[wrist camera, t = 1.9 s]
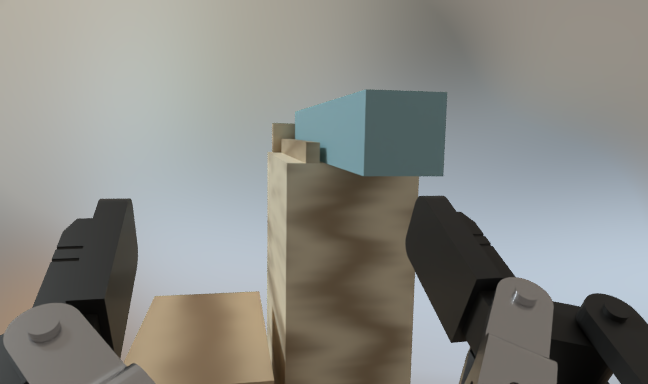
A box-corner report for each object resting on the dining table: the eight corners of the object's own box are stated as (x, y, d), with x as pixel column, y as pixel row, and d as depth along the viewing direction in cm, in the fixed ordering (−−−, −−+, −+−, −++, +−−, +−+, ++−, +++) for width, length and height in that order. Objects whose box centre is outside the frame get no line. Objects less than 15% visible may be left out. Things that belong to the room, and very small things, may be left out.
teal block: (363, 176, 19) (365, 89, 19) (294, 152, 41) (295, 111, 40) (443, 176, 20) (447, 92, 20) (334, 153, 42) (335, 112, 41)
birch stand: (283, 653, 31) (287, 118, 27) (266, 485, 46) (267, 123, 41) (399, 630, 32) (421, 121, 28) (347, 475, 47) (356, 125, 43)
